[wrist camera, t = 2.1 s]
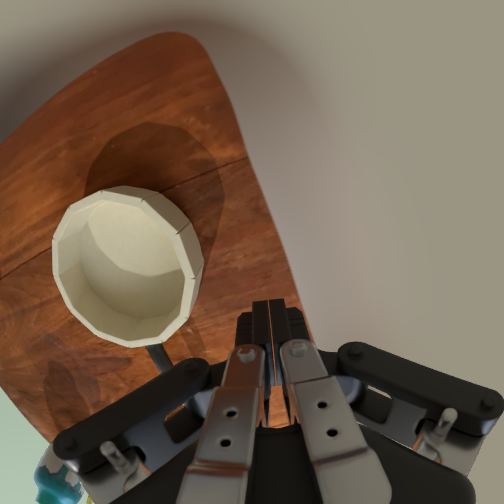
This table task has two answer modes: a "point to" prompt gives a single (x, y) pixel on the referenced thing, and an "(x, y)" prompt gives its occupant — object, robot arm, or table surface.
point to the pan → (128, 267)
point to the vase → (56, 481)
